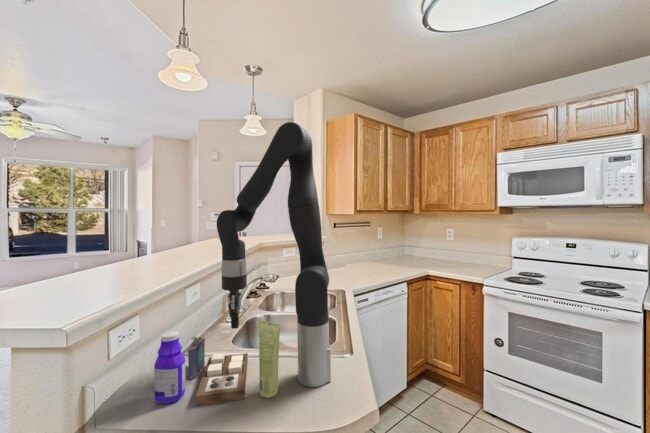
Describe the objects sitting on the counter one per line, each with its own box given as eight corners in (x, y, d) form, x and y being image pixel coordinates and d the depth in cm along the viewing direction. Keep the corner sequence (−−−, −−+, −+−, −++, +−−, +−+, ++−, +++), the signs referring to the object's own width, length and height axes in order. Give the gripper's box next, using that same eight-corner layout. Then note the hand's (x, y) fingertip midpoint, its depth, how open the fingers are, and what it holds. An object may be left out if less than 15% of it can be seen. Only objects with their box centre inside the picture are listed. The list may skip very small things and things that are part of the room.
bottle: (189, 391, 80) (188, 328, 79) (179, 404, 74) (178, 337, 74) (162, 391, 80) (161, 329, 79) (150, 405, 74) (149, 338, 74)
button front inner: (242, 368, 88) (242, 360, 88) (241, 375, 85) (241, 367, 85) (229, 370, 87) (229, 362, 87) (228, 377, 84) (228, 368, 84)
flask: (195, 379, 85) (194, 343, 85) (185, 379, 85) (184, 343, 85) (206, 363, 95) (205, 330, 94) (197, 363, 94) (196, 331, 94)
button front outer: (222, 371, 87) (222, 363, 87) (220, 378, 83) (220, 369, 83) (209, 372, 86) (209, 364, 86) (207, 379, 83) (207, 371, 82)
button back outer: (224, 360, 93) (224, 352, 93) (223, 366, 90) (223, 358, 90) (212, 361, 92) (212, 354, 92) (211, 367, 89) (210, 359, 89)
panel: (247, 360, 96) (247, 352, 96) (244, 398, 76) (244, 387, 76) (209, 365, 93) (209, 356, 93) (195, 405, 74) (195, 394, 74)
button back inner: (243, 362, 94) (243, 354, 94) (242, 368, 91) (242, 360, 91) (231, 363, 94) (231, 356, 94) (230, 369, 90) (230, 361, 90)
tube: (279, 385, 82) (278, 317, 82) (281, 396, 77) (280, 324, 77) (258, 388, 81) (258, 319, 80) (259, 400, 76) (258, 326, 75)
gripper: (245, 277, 85) (246, 335, 86) (247, 268, 98) (248, 318, 99) (218, 278, 84) (219, 337, 84) (224, 269, 97) (225, 320, 97)
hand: (235, 327), depth 91 cm, fingers closed
